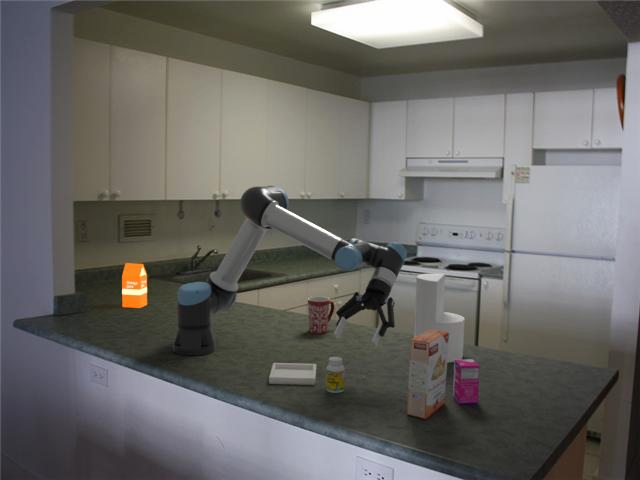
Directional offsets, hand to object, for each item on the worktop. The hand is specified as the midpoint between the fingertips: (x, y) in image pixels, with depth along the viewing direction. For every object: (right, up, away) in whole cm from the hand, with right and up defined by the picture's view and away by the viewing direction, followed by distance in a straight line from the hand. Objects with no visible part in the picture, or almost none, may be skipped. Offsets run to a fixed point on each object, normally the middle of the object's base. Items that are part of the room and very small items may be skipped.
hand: (354, 340), depth 185 cm
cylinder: (+32, -11, +32) cm, 46 cm away
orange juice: (-97, 0, +99) cm, 139 cm away
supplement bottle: (-6, -14, -6) cm, 16 cm away
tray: (-19, -12, +6) cm, 23 cm away
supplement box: (+31, -15, -12) cm, 37 cm away
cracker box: (+19, -16, -19) cm, 31 cm away
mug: (-10, -6, +61) cm, 62 cm away
